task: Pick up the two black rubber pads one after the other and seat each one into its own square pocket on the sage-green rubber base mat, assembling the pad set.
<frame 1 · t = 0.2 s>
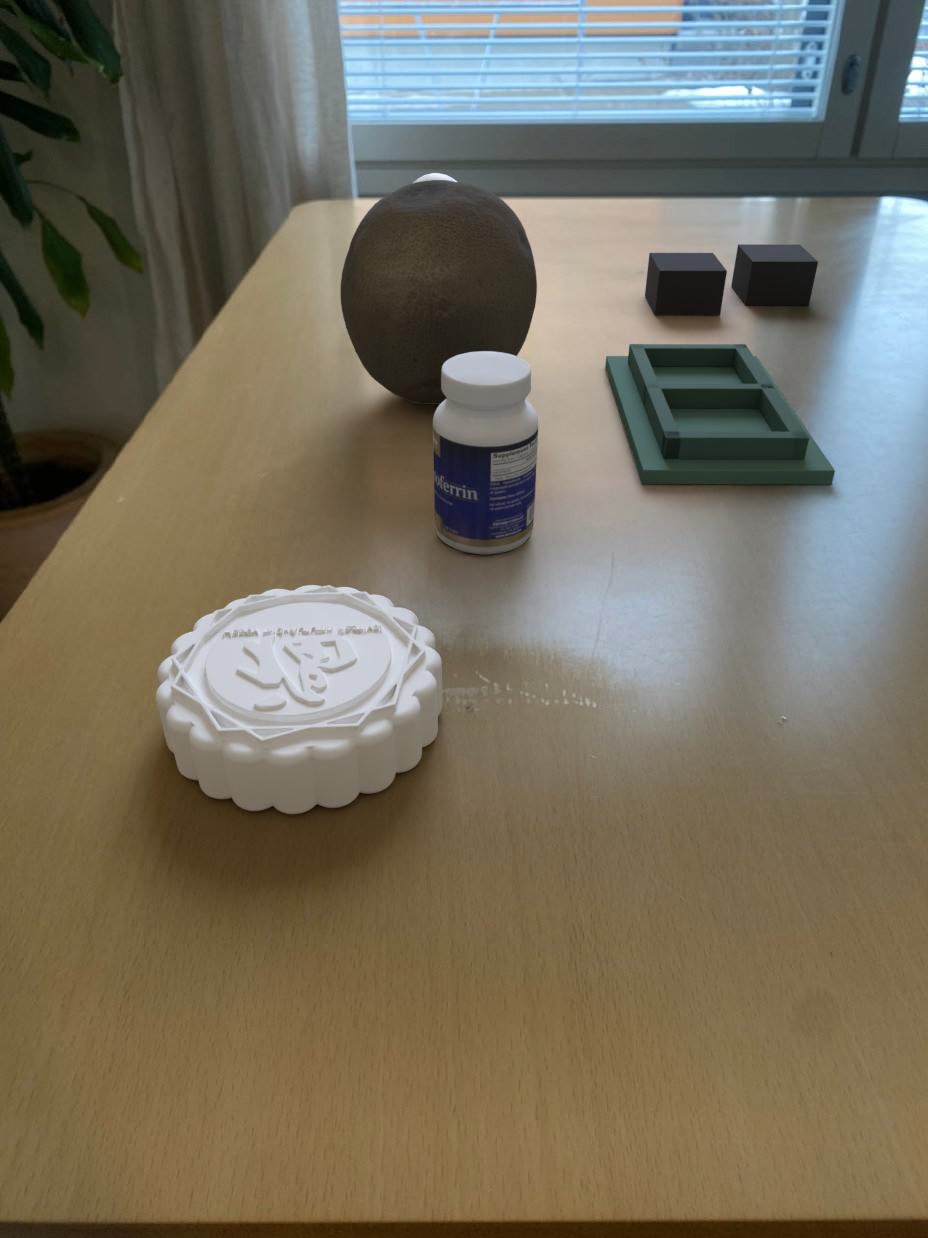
pad a: (681, 305, 89), on the table
lightbulb: (437, 300, 90), on the table
base mat: (704, 419, 68), on the table
pill bottle: (484, 535, 55), on the table
pad b: (769, 295, 91), on the table
mooncake: (307, 719, 42), on the table
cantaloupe: (441, 404, 70), on the table
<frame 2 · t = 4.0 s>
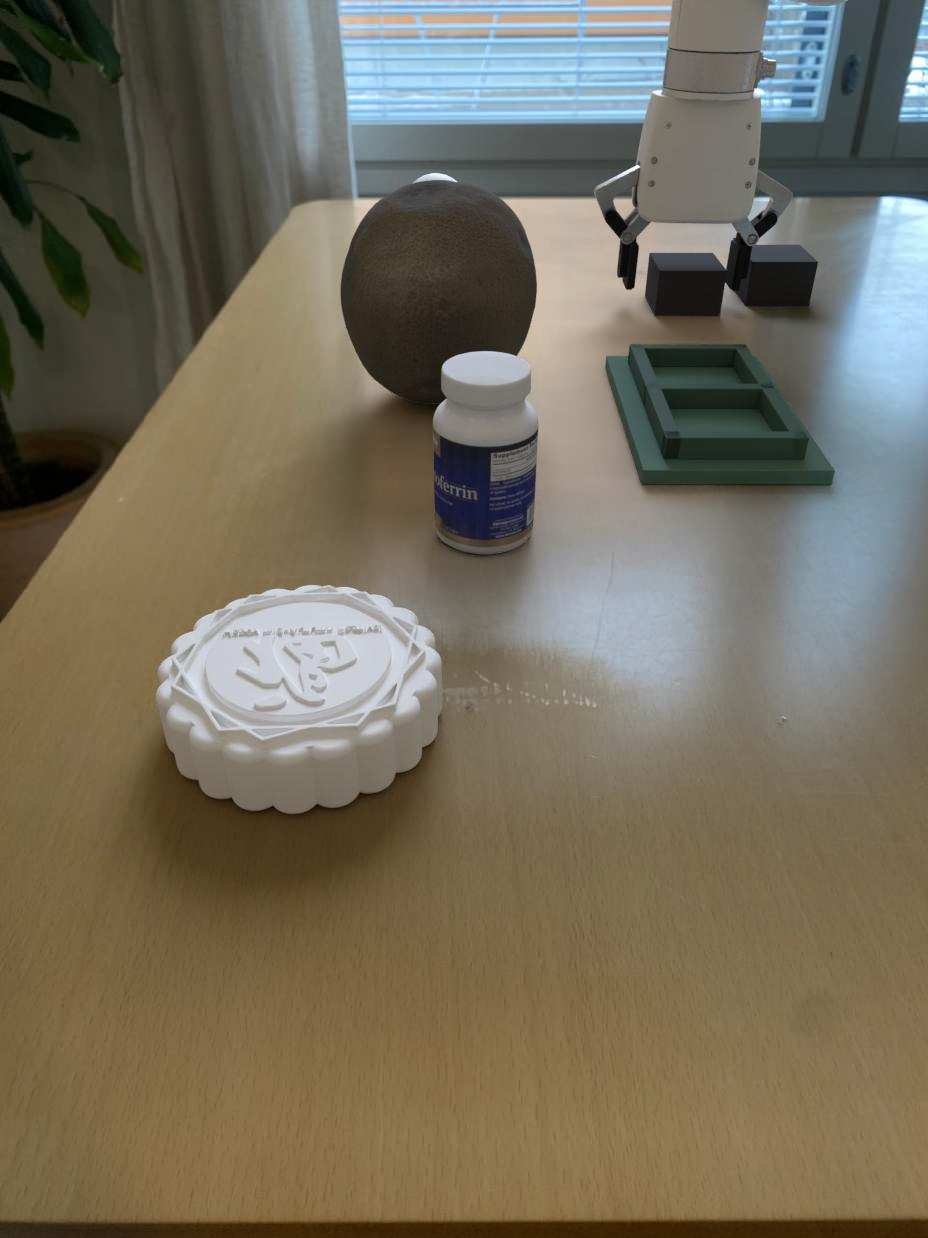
hand: (679, 286, 88), 2 cm above the table, tool pointing down, fingers open, 9 cm apart
pad b: (769, 295, 91), on the table, touching gripper
everything else where it was.
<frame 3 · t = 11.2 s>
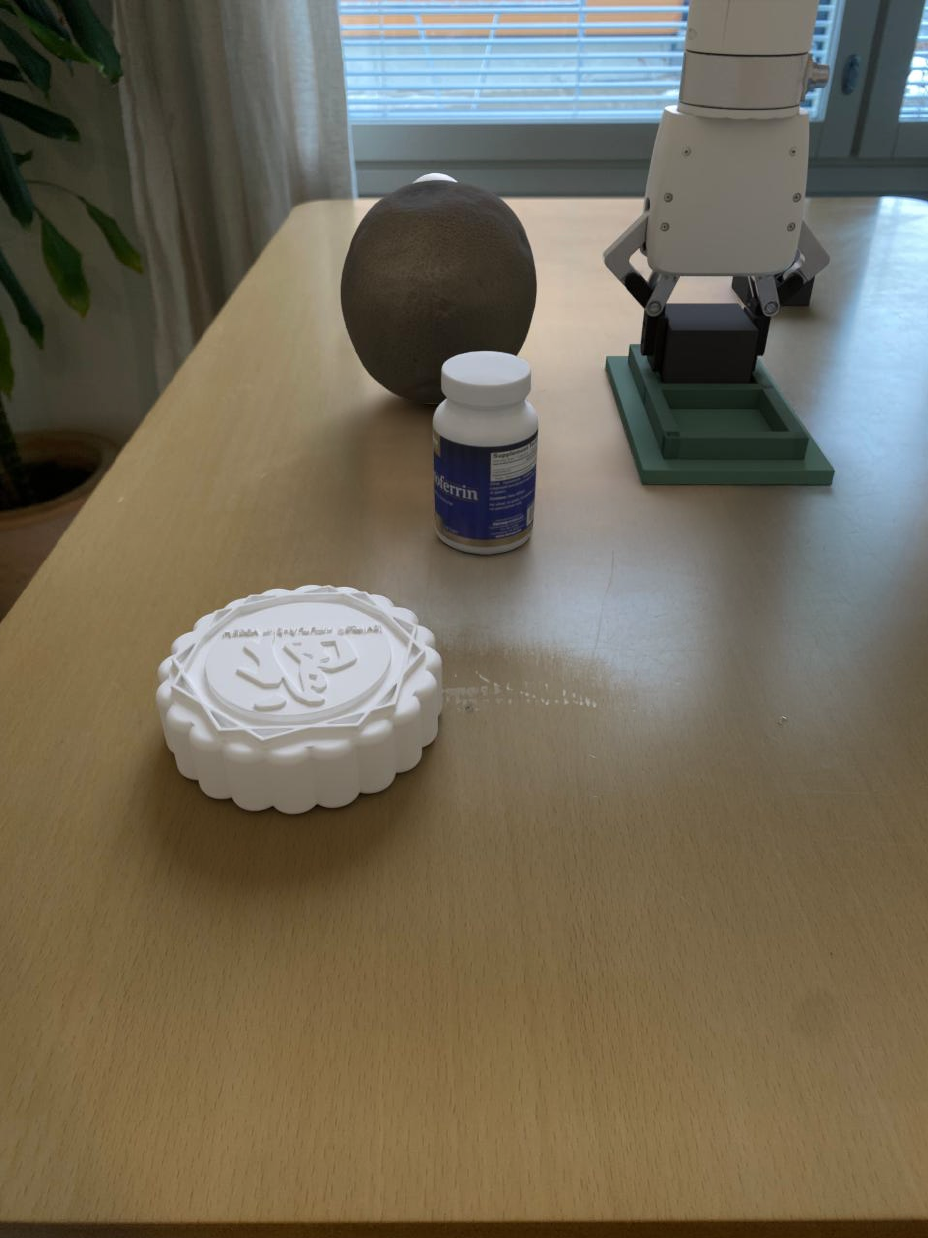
hand: (699, 362, 69), 3 cm above the table, tool pointing down, fingers closed on pad a, 6 cm apart
pad a: (698, 370, 70), point 2 cm above the table, touching gripper
pad b: (769, 295, 91), on the table
everything else where it was.
when the fingers open (4 cm above the table, at t = 18.9 s): pad a drops 2 cm, resting on base mat.
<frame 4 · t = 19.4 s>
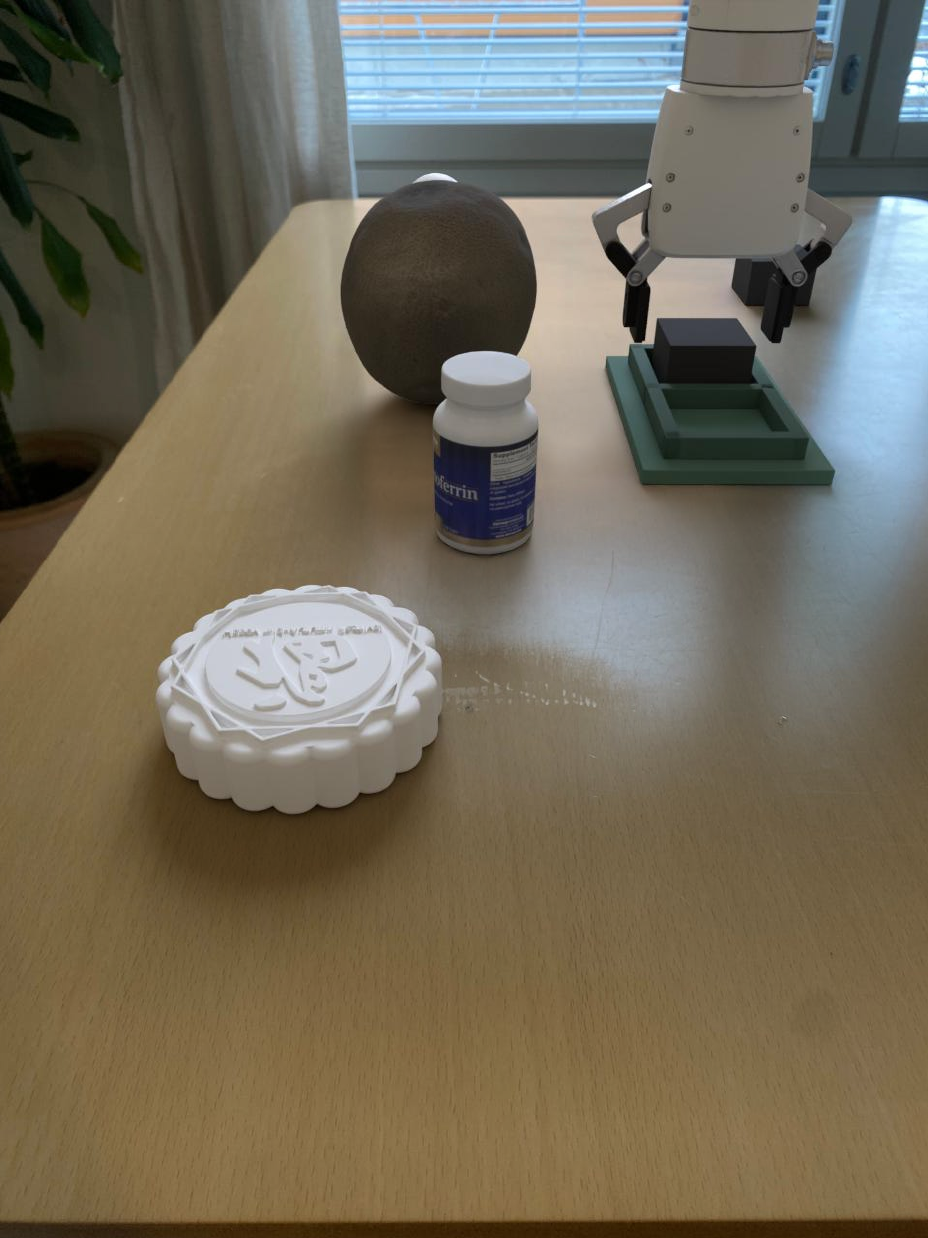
hand: (703, 336, 68), 5 cm above the table, tool pointing down, fingers open, 9 cm apart
pad a: (697, 384, 70), point 1 cm above the table, touching base mat
everything else where it was.
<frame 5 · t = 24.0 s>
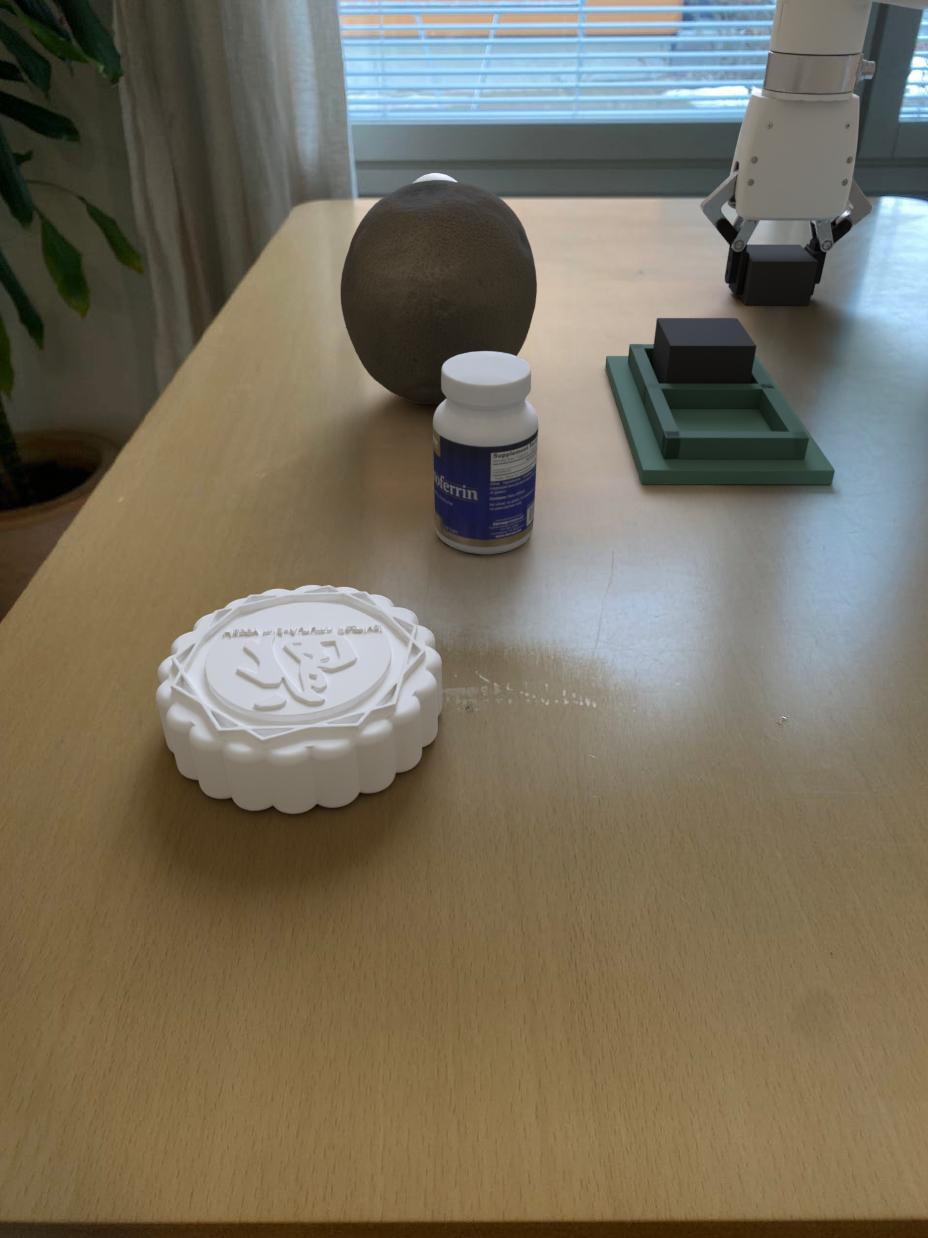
hand: (770, 289, 91), 1 cm above the table, tool pointing down, fingers closed on pad b, 6 cm apart
pad b: (769, 295, 91), on the table, touching gripper
everything else where it was.
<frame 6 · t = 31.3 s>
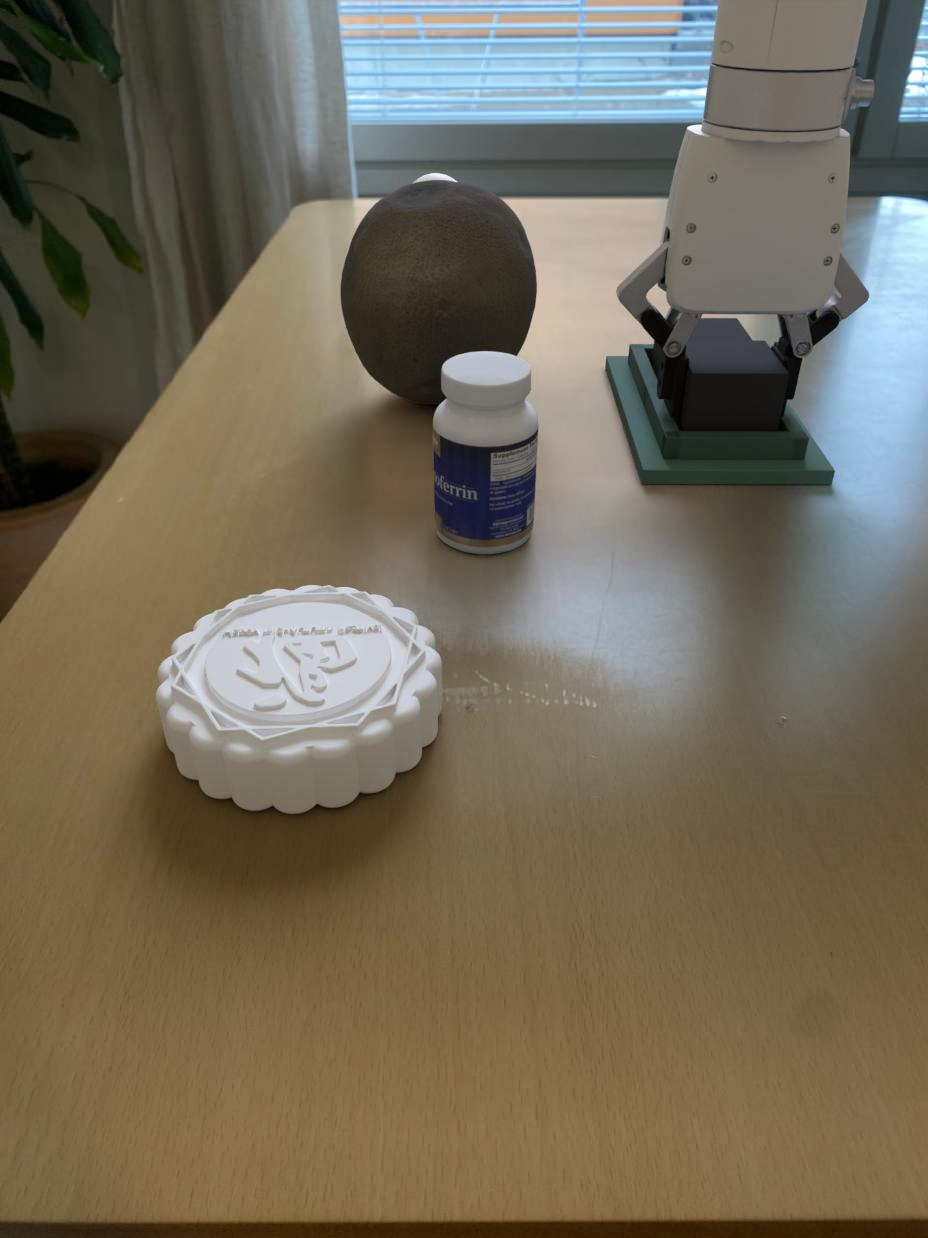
hand: (722, 406, 63), 3 cm above the table, tool pointing down, fingers closed on pad b, 6 cm apart
pad b: (720, 414, 63), point 2 cm above the table, touching gripper
everything else where it was.
when the fingers open (3 cm above the table, at t = 39.0 s): pad b drops 2 cm, resting on base mat.
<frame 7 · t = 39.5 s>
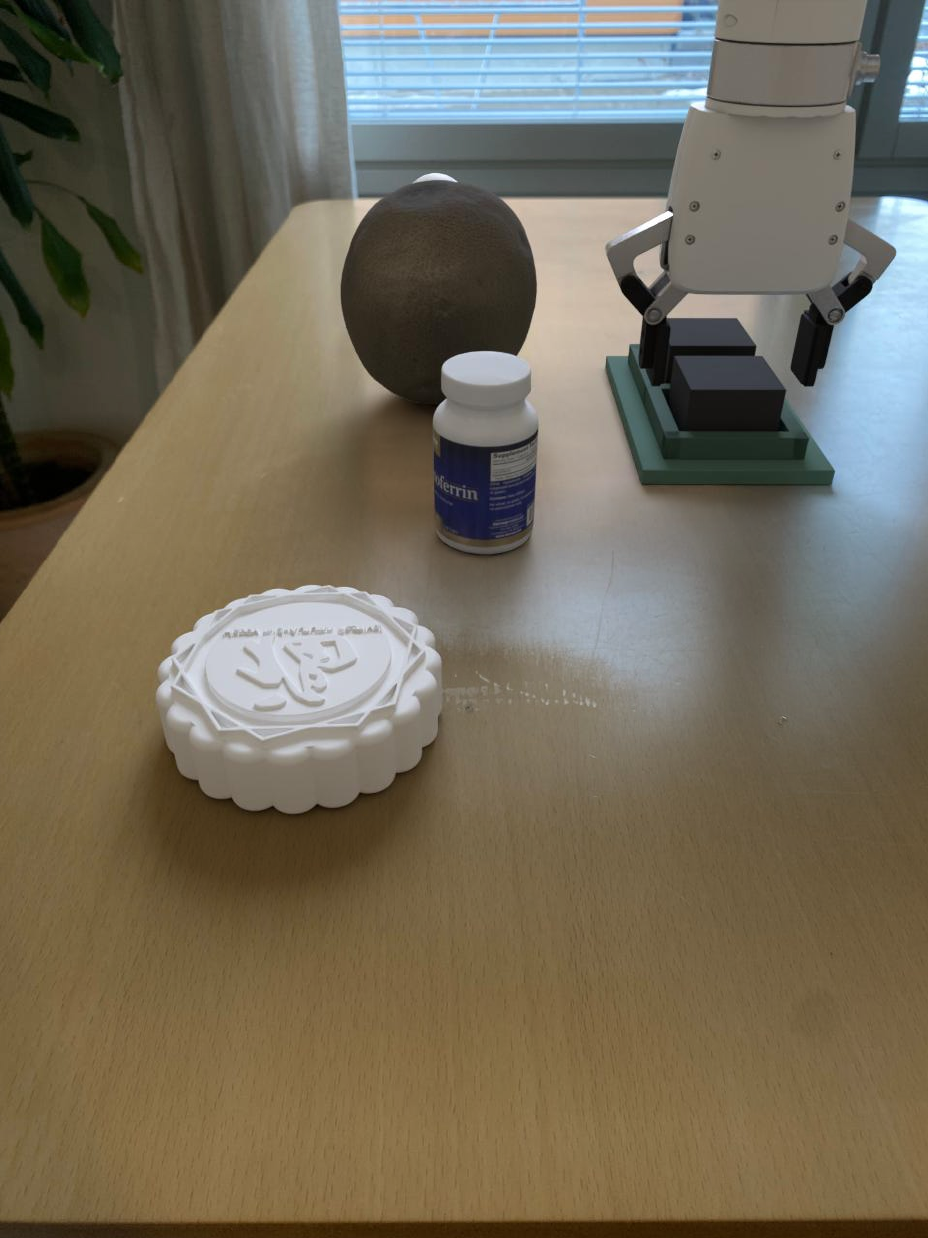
hand: (727, 378, 62), 5 cm above the table, tool pointing down, fingers open, 9 cm apart
pad b: (718, 428, 64), point 1 cm above the table, touching base mat
everything else where it was.
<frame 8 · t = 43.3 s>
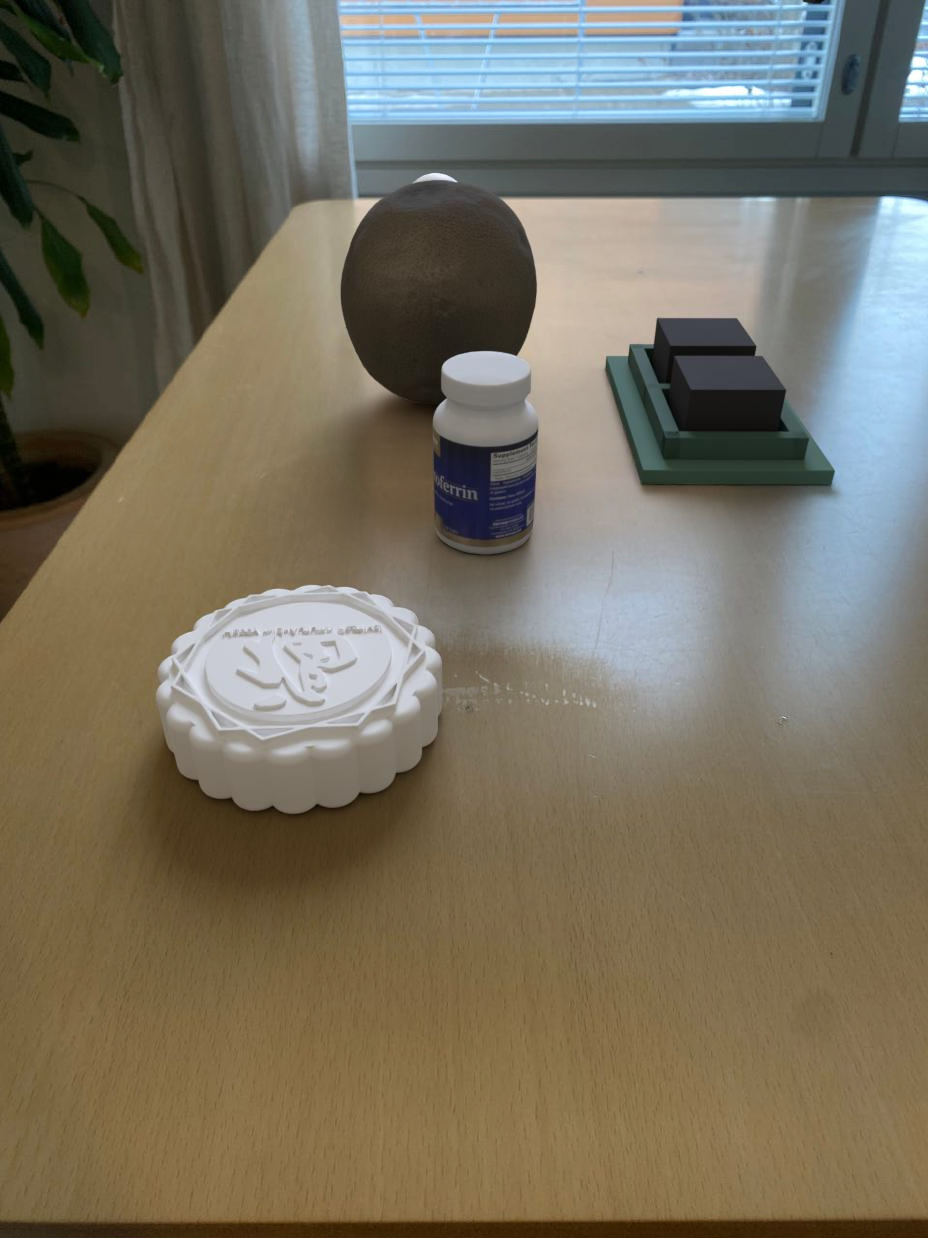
hand: (881, 2, 66), 24 cm above the table, tool pointing down, fingers open, 9 cm apart
nothing on the table moved.
at the end: pad a 0.1 cm from the target spot on the base mat, point 1.0 cm above the base mat's base; pad b 0.1 cm from the target spot on the base mat, point 1.0 cm above the base mat's base; pad b tilted 0° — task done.
